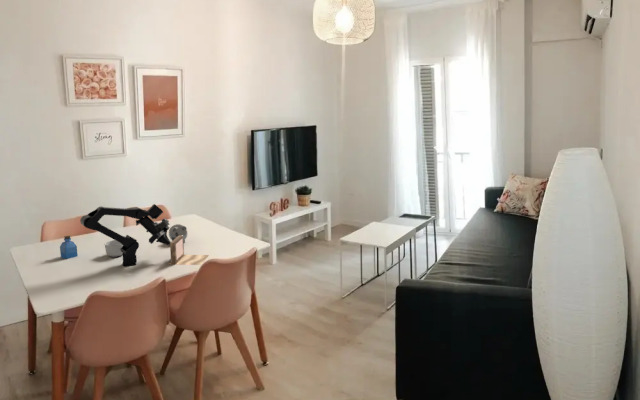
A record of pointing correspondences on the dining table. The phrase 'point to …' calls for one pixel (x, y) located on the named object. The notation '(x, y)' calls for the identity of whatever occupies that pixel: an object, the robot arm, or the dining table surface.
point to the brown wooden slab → (177, 249)
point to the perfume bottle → (68, 248)
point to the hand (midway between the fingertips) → (170, 244)
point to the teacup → (113, 248)
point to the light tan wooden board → (192, 260)
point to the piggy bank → (178, 232)
